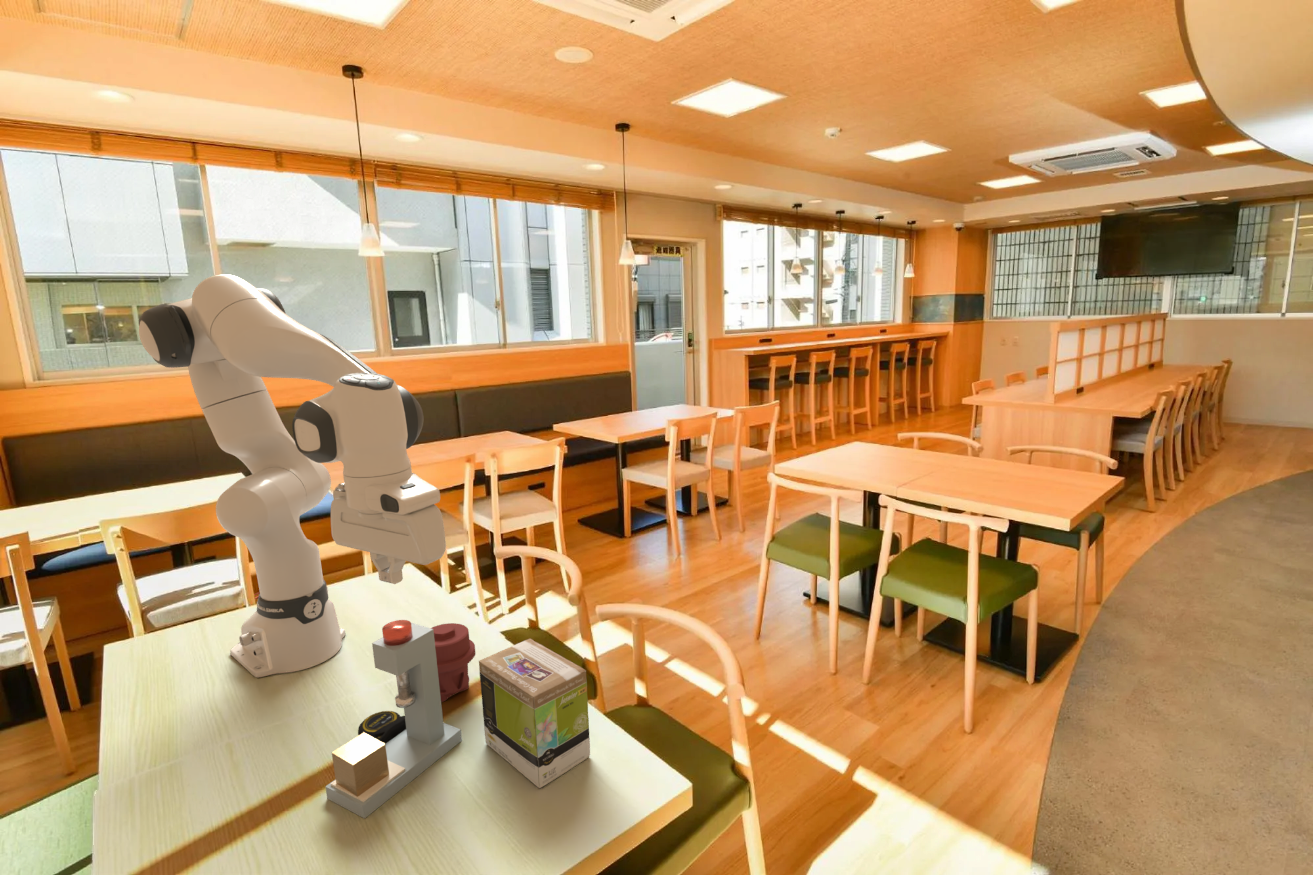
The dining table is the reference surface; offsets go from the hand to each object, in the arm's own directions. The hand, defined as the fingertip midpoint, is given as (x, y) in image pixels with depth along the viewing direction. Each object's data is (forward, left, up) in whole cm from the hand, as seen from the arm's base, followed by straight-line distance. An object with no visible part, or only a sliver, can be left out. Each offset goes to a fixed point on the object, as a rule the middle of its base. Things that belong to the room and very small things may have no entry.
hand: (391, 581), depth 94 cm
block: (0, -8, -27) cm, 28 cm away
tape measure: (-7, +1, -30) cm, 30 cm away
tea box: (+16, +10, -29) cm, 35 cm away
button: (0, 0, -20) cm, 20 cm away
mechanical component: (-8, +15, -29) cm, 34 cm away
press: (0, -3, -29) cm, 29 cm away
